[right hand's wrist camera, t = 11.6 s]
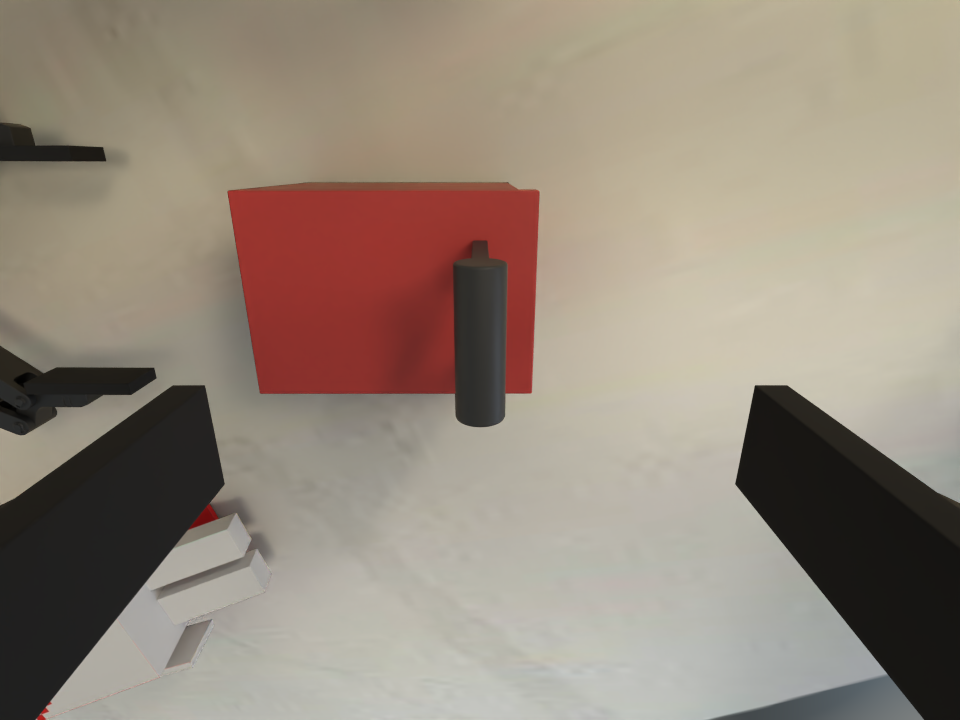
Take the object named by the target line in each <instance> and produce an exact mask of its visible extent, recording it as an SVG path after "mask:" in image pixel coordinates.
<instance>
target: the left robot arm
mask: <svg viewBox="0 0 960 720" xmlns="http://www.w3.org/2000/svg"><path fill="white" fill-rule="evenodd" d="M0 161H106V158H105V154H104V149H103V147H85V146H35V143H34V139H33V135H32V132H31V128H29V127H26V126H24V125H21V124H12V123H0ZM155 379H156V374H155V370H154V368H60V367H57V368H54V369H52V370H50V371H48V372H46V373H42V372H40V371H39V370H37V369H36V368H34V367H33V366H31V365H29V364H28V363H26V362H25V361H23V360H22V359H20V358H18V357H17V356H15V355H14V354H12V353H11V352H9V351H7V350H6V349H4V348H3V347H1V346H0V428H2V429H5V430H7V431H10V432H12V433H15V434H18V435H25V434H27V433H29V432H30V431H32V430H34V429H36V428H37V427H39V426H41V425H42V424H44V423H46V422H47V421H49V420H51V419H52V418H54V417H56V415H57V410H56V408H55V407H83V406H85V405H88V404H89V403H91V402H93V401H94V400H96V399H98V398H99V397H101V396H103V395H132V394H133V393H135V392H136V391H138V390H139V389H141V388H142V387H144V386H145V385H147V384H148V383H150V382H152V381H153V380H155Z"/></svg>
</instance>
